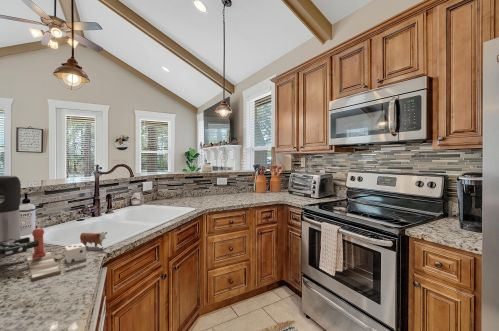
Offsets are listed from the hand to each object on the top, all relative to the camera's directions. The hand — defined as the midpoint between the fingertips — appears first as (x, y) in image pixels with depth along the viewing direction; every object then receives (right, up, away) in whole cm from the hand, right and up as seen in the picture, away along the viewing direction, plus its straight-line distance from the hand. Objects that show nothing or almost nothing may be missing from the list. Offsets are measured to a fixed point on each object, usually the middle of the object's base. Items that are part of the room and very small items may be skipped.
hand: (33, 241), depth 102 cm
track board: (+8, -8, -5) cm, 12 cm away
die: (+18, -8, -1) cm, 19 cm away
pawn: (+1, -6, +2) cm, 7 cm away
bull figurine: (+17, -7, +12) cm, 22 cm away
